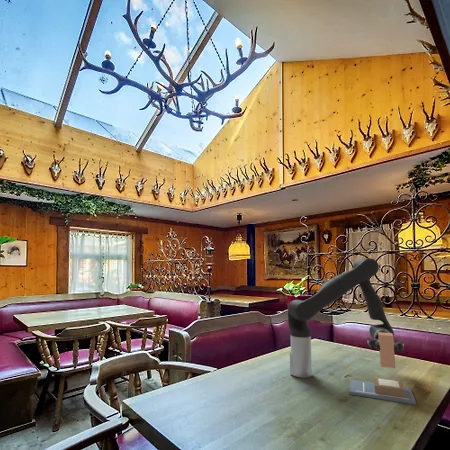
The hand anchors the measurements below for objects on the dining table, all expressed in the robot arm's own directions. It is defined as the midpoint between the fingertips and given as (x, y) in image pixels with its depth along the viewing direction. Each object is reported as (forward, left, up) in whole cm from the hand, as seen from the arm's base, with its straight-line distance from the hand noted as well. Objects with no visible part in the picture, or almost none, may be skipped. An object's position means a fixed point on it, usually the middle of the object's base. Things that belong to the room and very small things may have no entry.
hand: (387, 348), depth 119 cm
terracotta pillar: (0, +3, -7) cm, 7 cm away
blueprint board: (-3, +3, -17) cm, 18 cm away
